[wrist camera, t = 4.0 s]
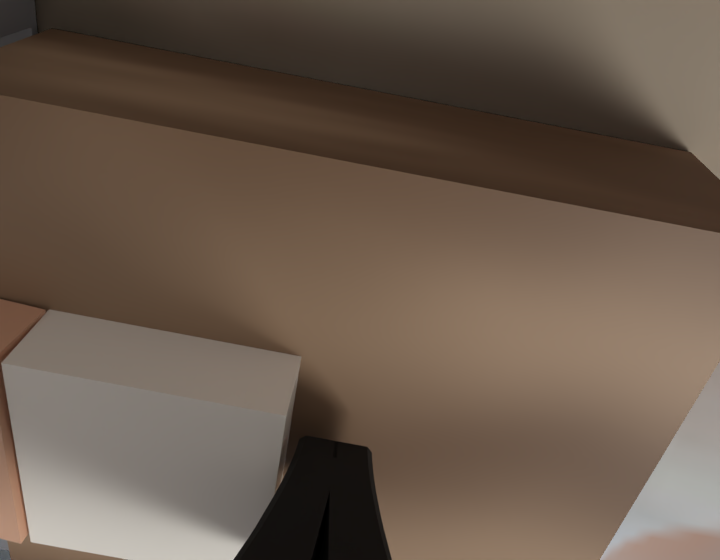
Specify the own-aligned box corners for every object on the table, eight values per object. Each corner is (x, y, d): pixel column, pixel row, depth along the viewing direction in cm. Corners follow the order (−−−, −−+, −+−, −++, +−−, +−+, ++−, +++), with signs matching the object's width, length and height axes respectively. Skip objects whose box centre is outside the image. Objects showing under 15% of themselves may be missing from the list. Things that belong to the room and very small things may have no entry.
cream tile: (276, 518, 14) (261, 583, 12) (67, 481, 14) (30, 542, 12) (301, 356, 11) (286, 415, 10) (48, 309, 11) (1, 363, 10)
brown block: (515, 527, 19) (535, 665, 16) (87, 450, 19) (13, 572, 15) (691, 152, 13) (789, 246, 9) (51, 28, 13) (-86, 78, 9)
